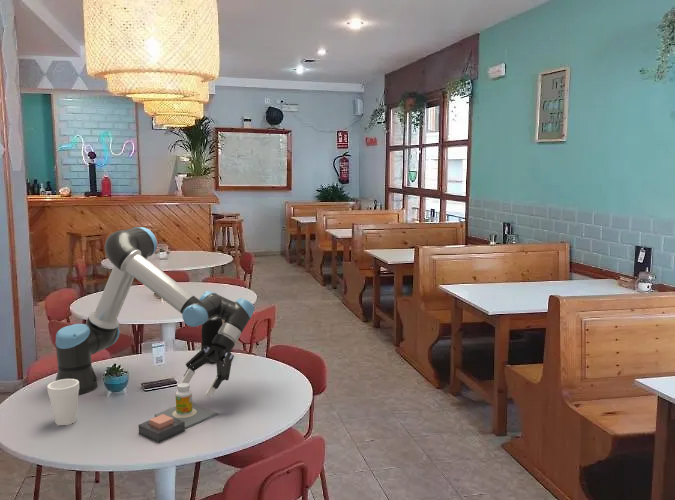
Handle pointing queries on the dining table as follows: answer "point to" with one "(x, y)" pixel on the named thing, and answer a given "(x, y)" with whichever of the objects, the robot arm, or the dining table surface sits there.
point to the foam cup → (64, 400)
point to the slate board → (190, 415)
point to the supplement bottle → (183, 399)
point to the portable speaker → (210, 332)
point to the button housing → (161, 430)
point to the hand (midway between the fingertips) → (194, 391)
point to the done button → (161, 421)
